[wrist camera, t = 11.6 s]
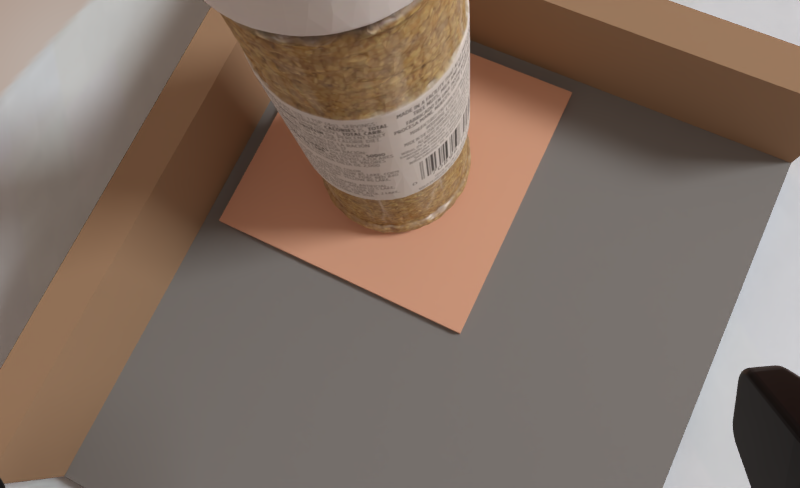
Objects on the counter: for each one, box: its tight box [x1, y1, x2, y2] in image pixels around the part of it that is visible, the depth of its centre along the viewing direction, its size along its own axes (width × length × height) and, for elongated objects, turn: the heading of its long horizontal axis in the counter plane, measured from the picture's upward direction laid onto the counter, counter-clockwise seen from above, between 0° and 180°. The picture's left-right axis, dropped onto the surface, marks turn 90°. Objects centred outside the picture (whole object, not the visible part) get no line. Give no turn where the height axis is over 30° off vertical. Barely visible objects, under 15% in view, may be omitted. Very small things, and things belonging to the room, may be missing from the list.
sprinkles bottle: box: [204, 0, 471, 233], centre depth 15 cm, size 5×5×13 cm
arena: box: [0, 0, 800, 488], centre depth 20 cm, size 18×16×4 cm
